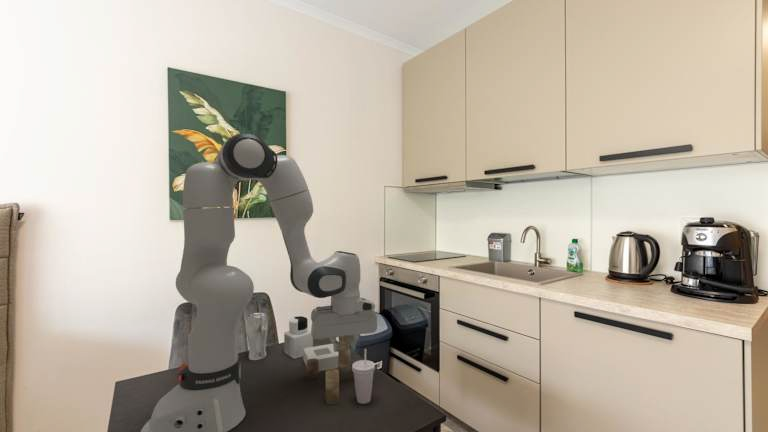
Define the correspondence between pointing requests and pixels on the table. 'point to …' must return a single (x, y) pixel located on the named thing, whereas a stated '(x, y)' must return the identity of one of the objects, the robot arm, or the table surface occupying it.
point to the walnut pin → (312, 369)
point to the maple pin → (344, 353)
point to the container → (297, 337)
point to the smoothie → (363, 379)
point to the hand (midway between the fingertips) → (344, 349)
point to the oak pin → (332, 386)
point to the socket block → (322, 356)
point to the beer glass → (257, 335)
